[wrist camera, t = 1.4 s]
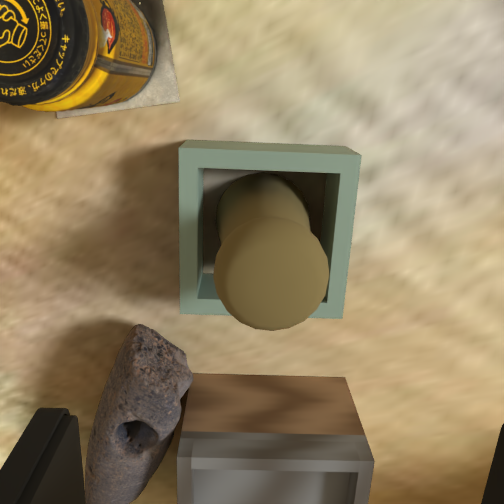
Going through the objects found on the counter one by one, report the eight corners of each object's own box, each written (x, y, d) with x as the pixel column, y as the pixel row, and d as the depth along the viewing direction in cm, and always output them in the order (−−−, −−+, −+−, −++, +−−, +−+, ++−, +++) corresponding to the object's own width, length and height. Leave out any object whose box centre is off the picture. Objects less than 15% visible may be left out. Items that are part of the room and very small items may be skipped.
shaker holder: (345, 146, 29) (361, 155, 25) (330, 291, 32) (342, 318, 28) (187, 139, 28) (178, 147, 25) (187, 286, 32) (179, 313, 28)
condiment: (58, 118, 28) (-67, 139, 17) (17, -46, 25) (-167, -154, 14) (180, 101, 28) (137, 111, 17) (152, -65, 25) (77, -191, 14)
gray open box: (345, 377, 34) (374, 461, 26) (329, 505, 38) (350, 611, 30) (191, 373, 34) (176, 457, 26) (191, 503, 38) (178, 609, 30)
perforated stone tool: (143, 485, 37) (122, 570, 31) (78, 465, 36) (42, 548, 30) (212, 327, 33) (204, 387, 26) (139, 301, 32) (112, 356, 25)
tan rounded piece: (204, 249, 31) (184, 332, 20) (230, 159, 29) (223, 200, 19) (292, 274, 31) (316, 366, 21) (323, 188, 30) (367, 243, 19)
